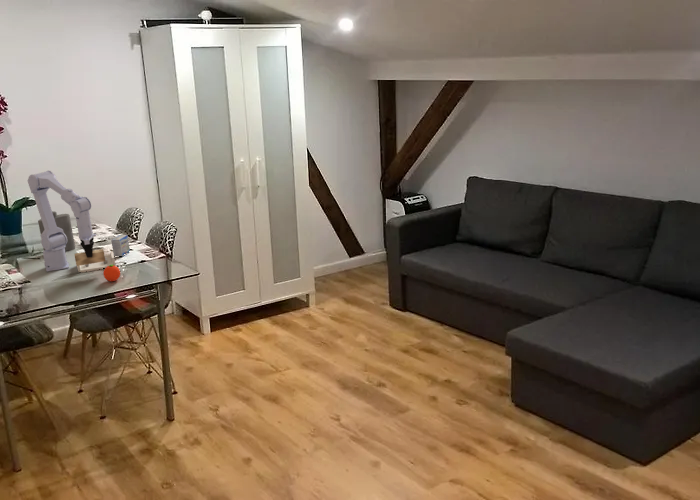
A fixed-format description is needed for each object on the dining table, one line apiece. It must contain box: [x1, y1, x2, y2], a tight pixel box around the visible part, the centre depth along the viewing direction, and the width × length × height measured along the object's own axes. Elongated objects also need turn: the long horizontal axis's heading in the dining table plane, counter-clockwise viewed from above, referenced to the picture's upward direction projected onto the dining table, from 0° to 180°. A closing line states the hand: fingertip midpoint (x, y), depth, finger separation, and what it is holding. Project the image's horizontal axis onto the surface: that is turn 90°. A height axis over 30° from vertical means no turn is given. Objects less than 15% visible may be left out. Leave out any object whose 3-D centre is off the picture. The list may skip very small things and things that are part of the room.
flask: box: [37, 211, 76, 252], centre depth 339 cm, size 15×6×20 cm, turn 135°
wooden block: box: [74, 248, 105, 267], centre depth 306 cm, size 12×4×4 cm, turn 111°
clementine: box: [102, 265, 121, 282], centre depth 299 cm, size 8×7×7 cm
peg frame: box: [76, 250, 116, 274], centre depth 318 cm, size 16×11×4 cm
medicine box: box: [111, 234, 131, 257], centre depth 332 cm, size 8×4×9 cm, turn 168°
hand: (89, 255), depth 305 cm, fingers closed on wooden block, 4 cm apart
